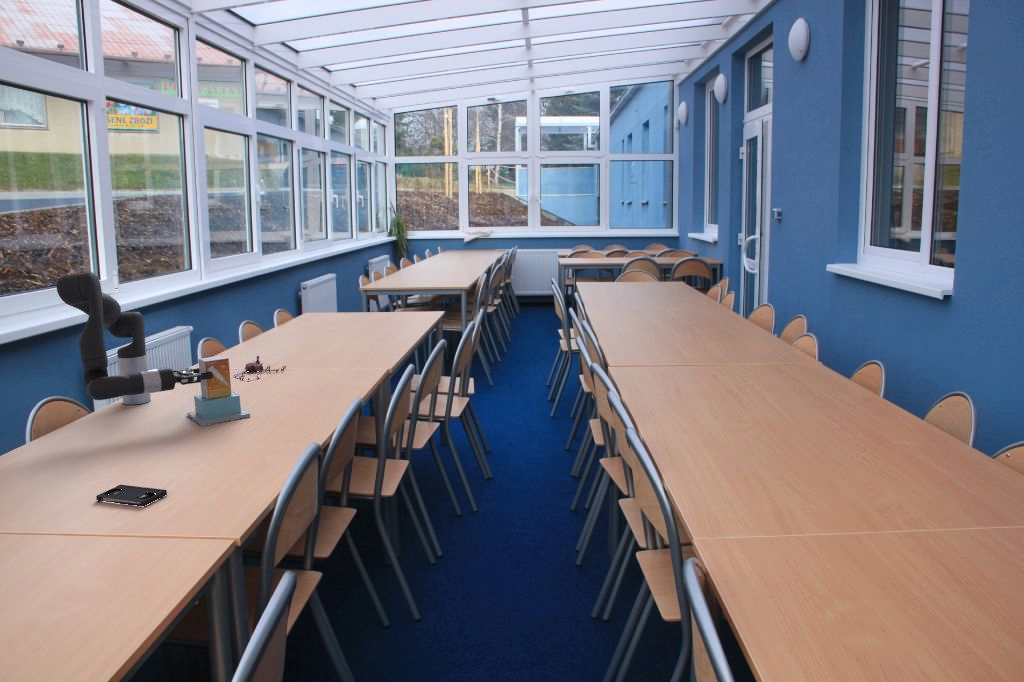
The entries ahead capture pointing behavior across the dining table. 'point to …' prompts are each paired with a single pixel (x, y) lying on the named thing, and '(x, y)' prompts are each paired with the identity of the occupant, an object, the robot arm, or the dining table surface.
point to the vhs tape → (131, 495)
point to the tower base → (218, 419)
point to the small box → (215, 377)
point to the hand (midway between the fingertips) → (208, 372)
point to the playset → (256, 367)
